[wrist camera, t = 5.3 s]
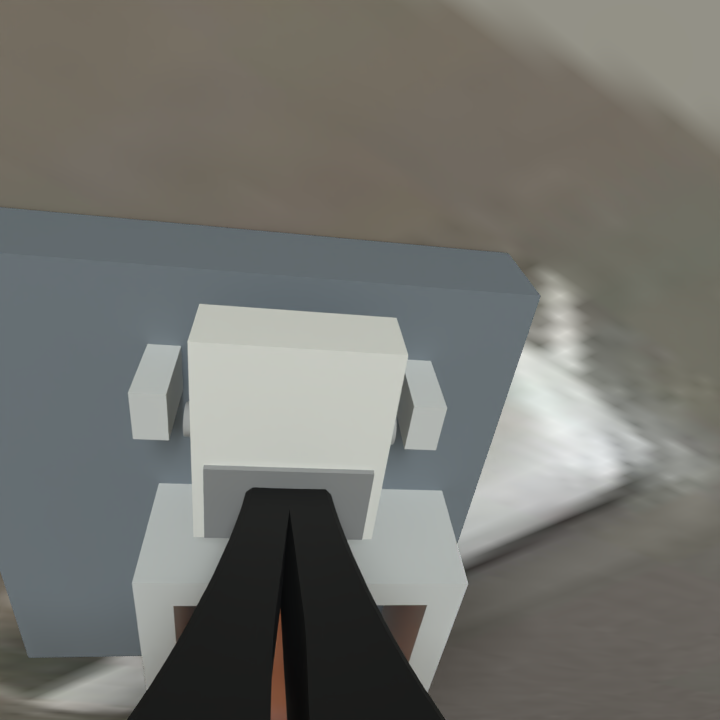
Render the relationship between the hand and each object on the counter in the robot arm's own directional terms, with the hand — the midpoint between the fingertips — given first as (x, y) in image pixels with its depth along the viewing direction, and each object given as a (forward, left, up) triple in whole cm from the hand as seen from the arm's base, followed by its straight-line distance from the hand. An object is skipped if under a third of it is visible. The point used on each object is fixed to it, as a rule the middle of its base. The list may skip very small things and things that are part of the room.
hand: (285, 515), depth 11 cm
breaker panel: (-2, +1, -4) cm, 4 cm away
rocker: (+2, 0, -1) cm, 2 cm away
